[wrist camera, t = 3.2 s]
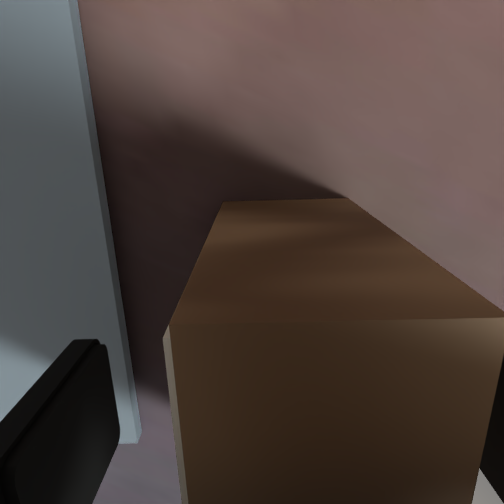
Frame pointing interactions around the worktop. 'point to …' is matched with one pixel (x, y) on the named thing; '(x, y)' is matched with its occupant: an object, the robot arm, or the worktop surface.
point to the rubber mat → (54, 209)
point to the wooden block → (327, 363)
